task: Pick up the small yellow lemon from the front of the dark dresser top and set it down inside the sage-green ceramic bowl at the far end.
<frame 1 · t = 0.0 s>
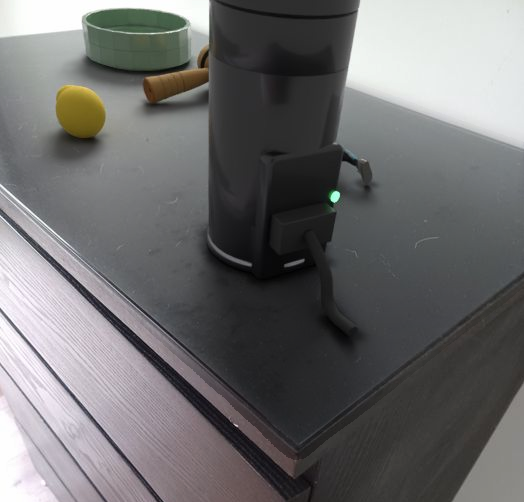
bowl: (139, 58, 79), on the dresser
action figure: (292, 157, 58), on the dresser
yellow lemon: (89, 132, 55), point 1 cm above the dresser, tilted 60°
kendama: (211, 97, 70), on the dresser
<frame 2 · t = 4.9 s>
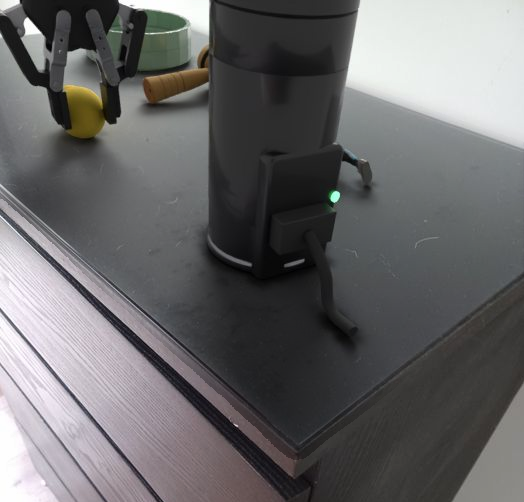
hand: (88, 123, 54), 2 cm above the dresser, tool pointing down, fingers closed on yellow lemon, 4 cm apart
yellow lemon: (88, 132, 55), point 1 cm above the dresser, tilted 59°, touching gripper
everything else where it was.
when the fingers open (5 cm above the dresser, at t = 12.1 s): yellow lemon drops 3 cm, resting on bowl.
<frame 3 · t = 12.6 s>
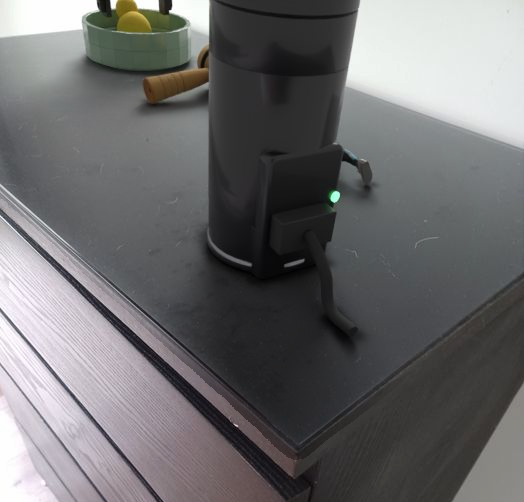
hand: (136, 15, 75), 6 cm above the dresser, tool pointing down, fingers open, 8 cm apart
yellow lemon: (137, 50, 80), point 1 cm above the dresser, tilted 15°, touching bowl
everything else where it was.
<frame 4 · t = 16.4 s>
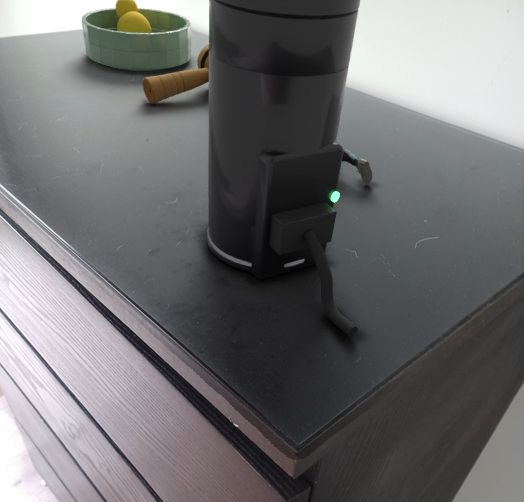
nothing on the dresser moved.
at the end: yellow lemon inside the target area in the bowl (1.4 cm from its centre), point 0.7 cm above the bowl's base; the gripper is holding nothing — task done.
